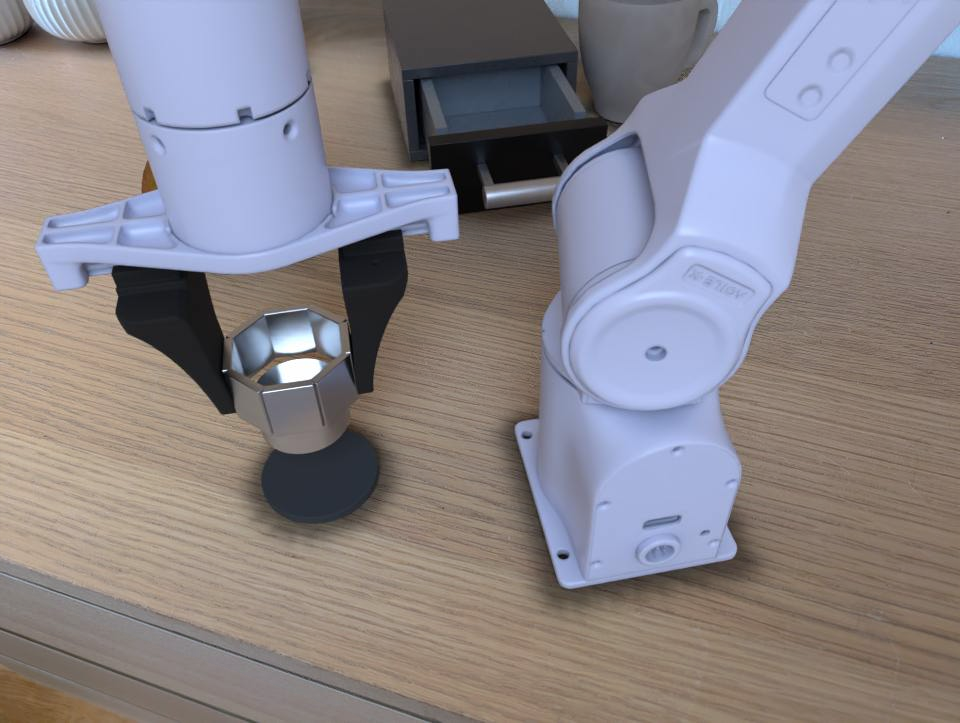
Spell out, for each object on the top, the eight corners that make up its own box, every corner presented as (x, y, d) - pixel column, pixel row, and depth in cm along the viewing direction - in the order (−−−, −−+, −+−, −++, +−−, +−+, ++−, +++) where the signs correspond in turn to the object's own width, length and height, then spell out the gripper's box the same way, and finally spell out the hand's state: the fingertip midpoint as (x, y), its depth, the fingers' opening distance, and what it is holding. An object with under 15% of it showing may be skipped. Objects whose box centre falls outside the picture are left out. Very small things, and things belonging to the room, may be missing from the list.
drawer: (621, 231, 52) (629, 157, 49) (445, 255, 51) (439, 180, 47) (555, 112, 64) (558, 45, 61) (411, 129, 63) (405, 61, 59)
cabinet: (573, 142, 63) (578, 50, 58) (410, 161, 61) (401, 69, 56) (532, 68, 72) (534, -16, 67) (390, 83, 71) (381, -1, 66)
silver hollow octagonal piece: (368, 455, 35) (354, 379, 32) (246, 474, 35) (219, 399, 32) (358, 372, 39) (345, 297, 36) (248, 388, 38) (224, 314, 35)
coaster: (384, 513, 38) (383, 506, 38) (262, 533, 37) (260, 527, 37) (373, 425, 42) (372, 418, 42) (263, 442, 41) (261, 435, 41)
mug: (614, 145, 62) (626, 15, 55) (552, 99, 67) (556, -23, 61) (737, 106, 66) (763, -19, 59) (669, 66, 71) (685, -52, 65)
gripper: (429, 18, 30) (448, 306, 39) (11, 59, 28) (136, 349, 37) (462, 106, 25) (475, 412, 34) (-45, 162, 23) (115, 468, 32)
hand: (298, 387), depth 35 cm, fingers closed on silver hollow octagonal piece, 5 cm apart
